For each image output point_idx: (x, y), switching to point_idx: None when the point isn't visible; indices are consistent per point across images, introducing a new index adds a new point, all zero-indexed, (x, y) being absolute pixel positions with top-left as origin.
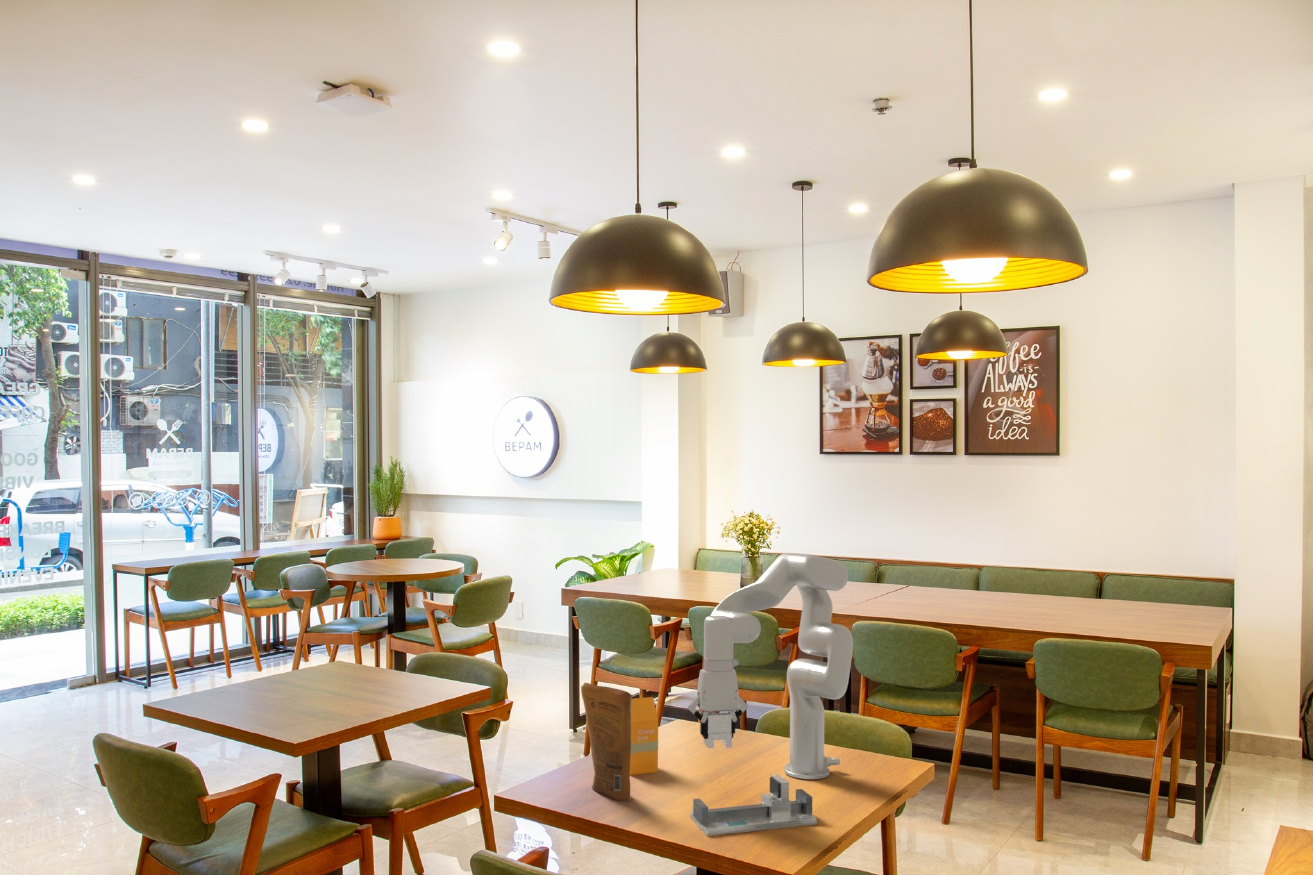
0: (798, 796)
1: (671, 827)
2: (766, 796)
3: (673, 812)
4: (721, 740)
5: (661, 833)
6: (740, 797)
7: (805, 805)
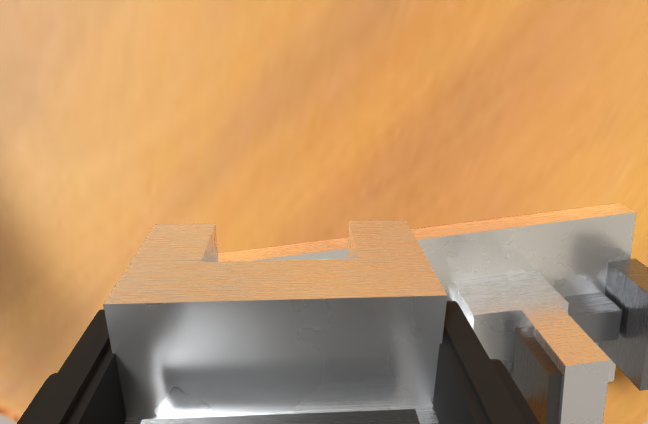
0: (635, 311)
1: (65, 343)
2: (485, 337)
3: (78, 196)
4: (350, 233)
5: (26, 387)
6: (437, 43)
7: (617, 359)
